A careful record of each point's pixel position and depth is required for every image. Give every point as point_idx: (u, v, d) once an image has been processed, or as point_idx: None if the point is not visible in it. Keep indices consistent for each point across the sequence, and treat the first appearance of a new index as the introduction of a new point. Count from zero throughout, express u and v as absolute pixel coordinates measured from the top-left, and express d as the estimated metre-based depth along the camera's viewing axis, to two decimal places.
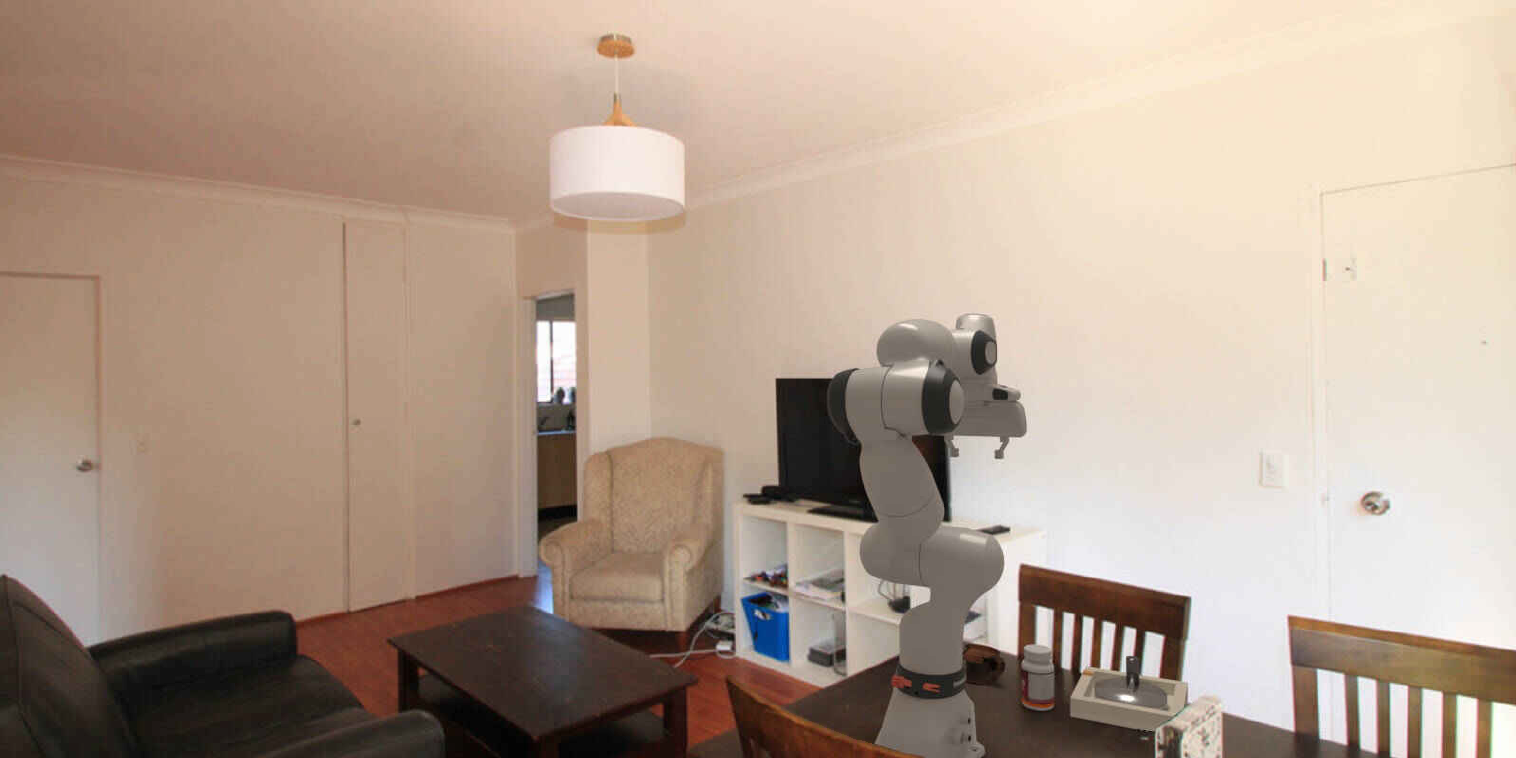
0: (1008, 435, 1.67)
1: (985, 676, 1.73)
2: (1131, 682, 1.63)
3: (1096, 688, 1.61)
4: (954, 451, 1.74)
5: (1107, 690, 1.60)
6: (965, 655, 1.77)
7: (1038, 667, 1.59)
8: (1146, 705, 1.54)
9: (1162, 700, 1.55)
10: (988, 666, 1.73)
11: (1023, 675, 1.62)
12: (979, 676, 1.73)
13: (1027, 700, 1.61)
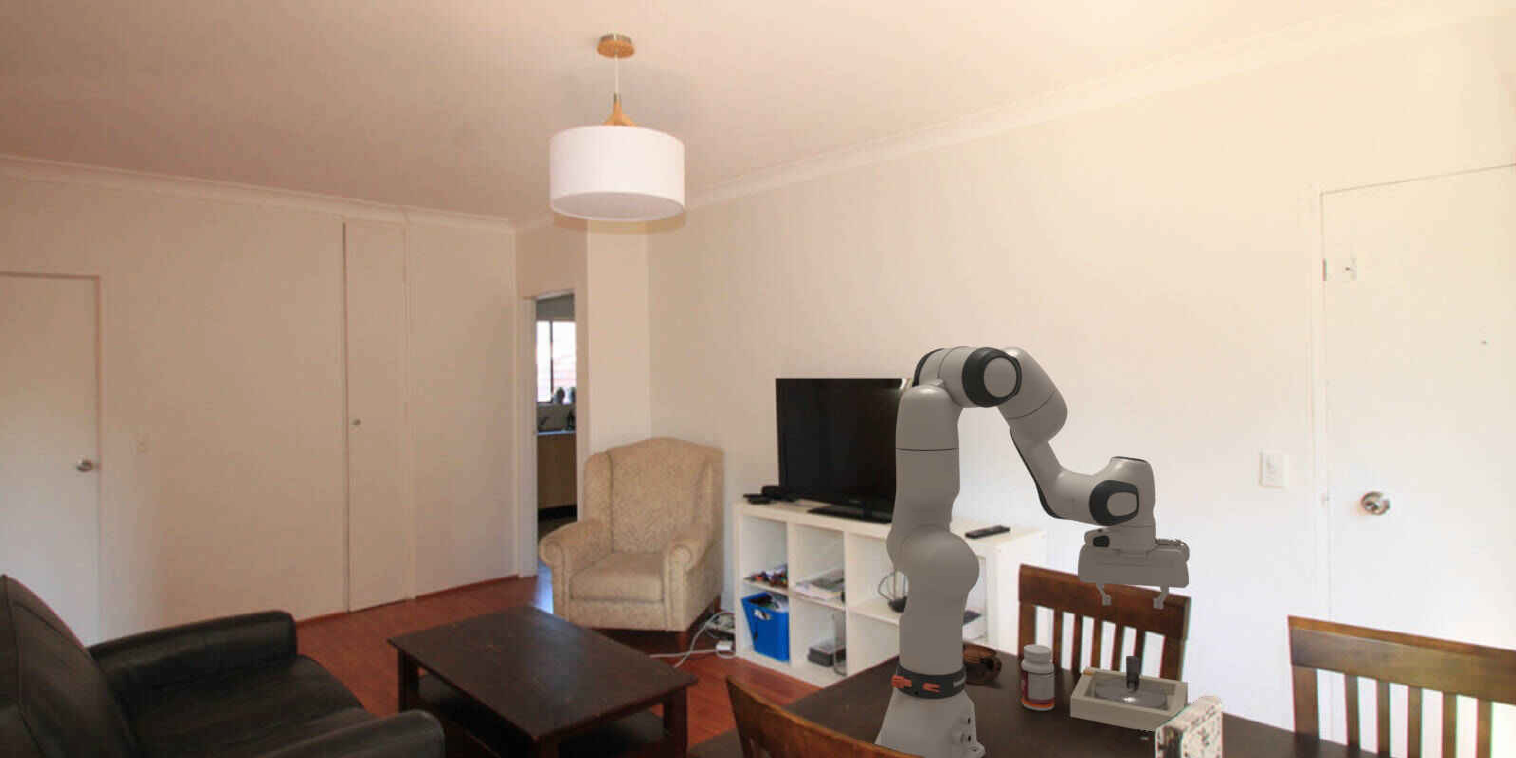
0: None
1: (982, 676, 1.73)
2: (1131, 682, 1.63)
3: (1096, 688, 1.61)
4: None
5: (1107, 690, 1.60)
6: None
7: (1038, 667, 1.59)
8: (1146, 705, 1.54)
9: (1162, 700, 1.55)
10: (985, 666, 1.73)
11: (1023, 675, 1.62)
12: (975, 676, 1.73)
13: (1027, 700, 1.61)
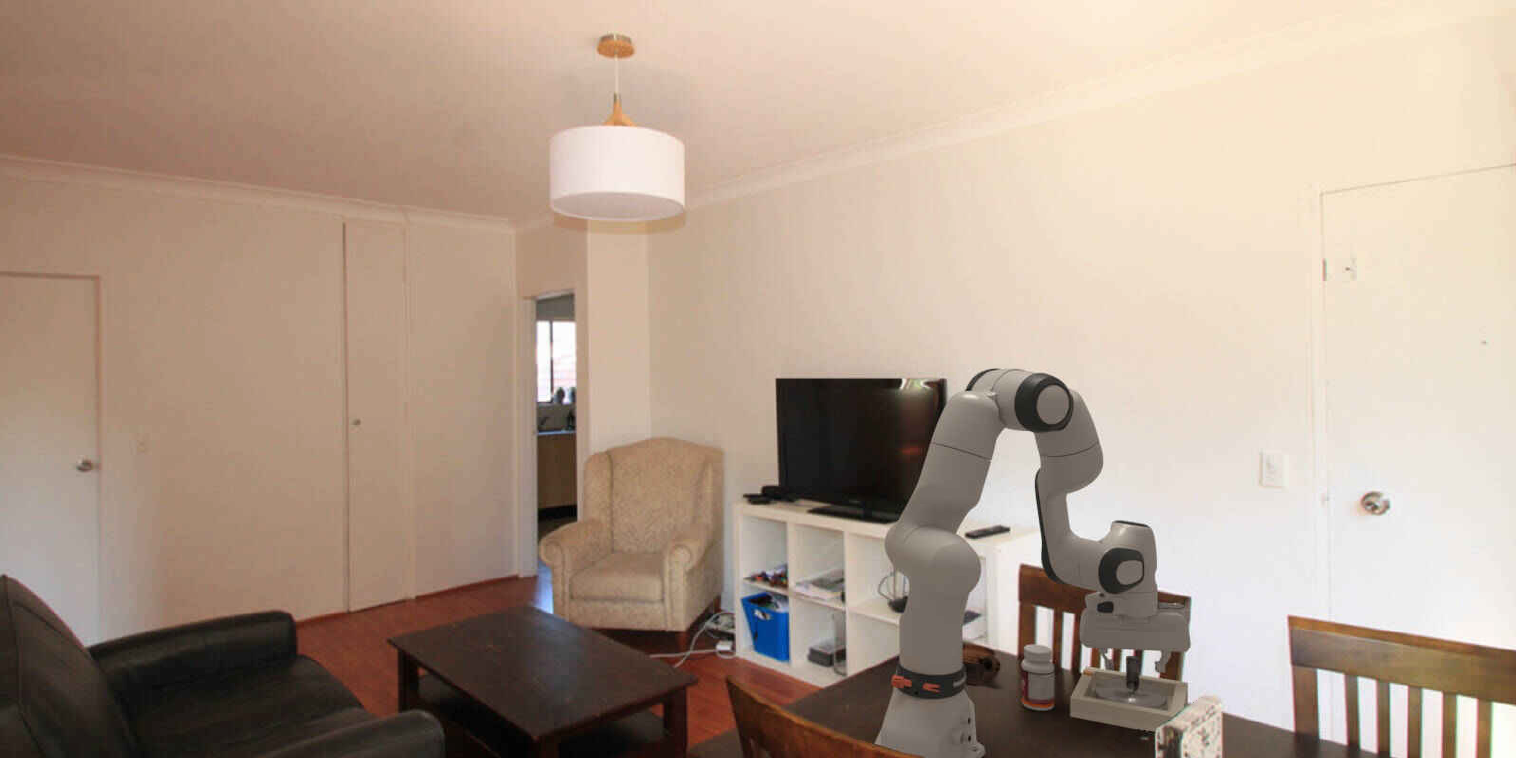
0: None
1: (980, 676, 1.73)
2: (1131, 682, 1.63)
3: (1096, 688, 1.61)
4: None
5: (1107, 690, 1.60)
6: None
7: (1038, 667, 1.59)
8: (1146, 705, 1.54)
9: (1162, 700, 1.55)
10: (983, 666, 1.73)
11: (1023, 675, 1.62)
12: (974, 676, 1.73)
13: (1027, 700, 1.61)
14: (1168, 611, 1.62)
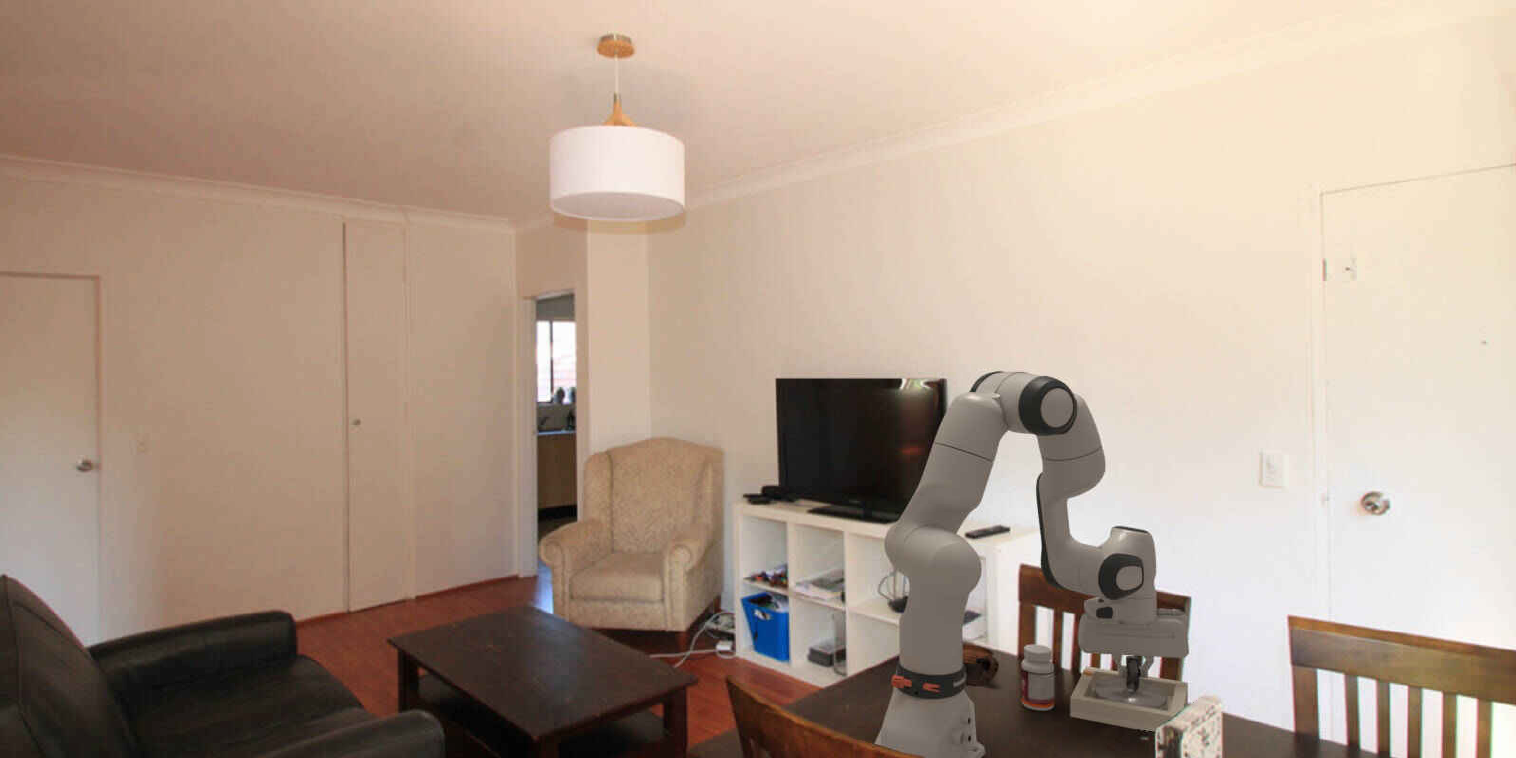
0: None
1: (978, 677, 1.73)
2: (1131, 682, 1.63)
3: (1096, 688, 1.61)
4: None
5: (1107, 690, 1.60)
6: None
7: (1038, 667, 1.59)
8: (1146, 705, 1.54)
9: (1162, 700, 1.55)
10: (981, 667, 1.73)
11: (1023, 675, 1.62)
12: (972, 676, 1.73)
13: (1027, 700, 1.61)
14: (1167, 617, 1.62)
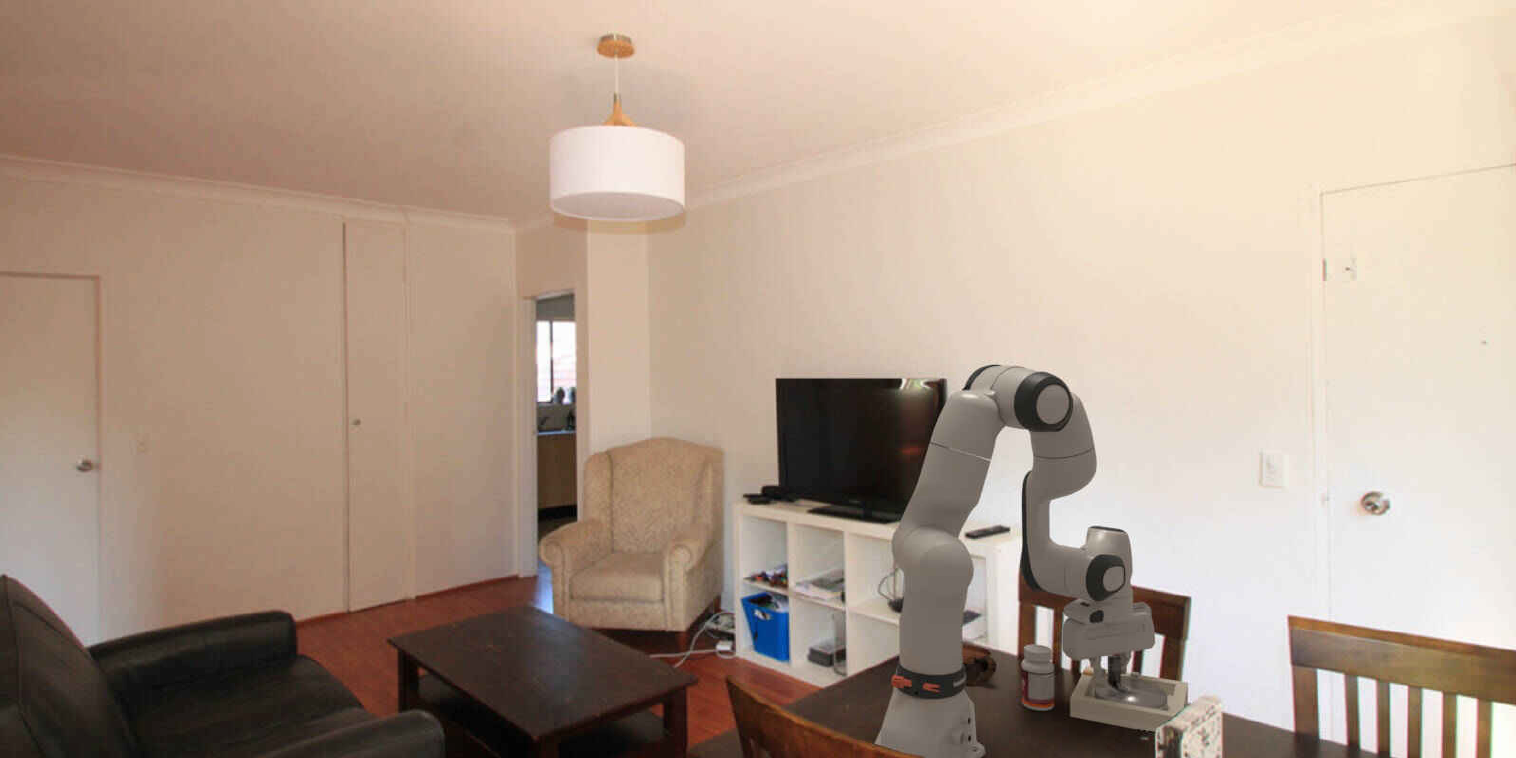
0: None
1: (976, 677, 1.73)
2: (1118, 682, 1.63)
3: (1111, 698, 1.57)
4: None
5: (1120, 697, 1.57)
6: None
7: (1038, 667, 1.59)
8: (1165, 700, 1.56)
9: (1163, 691, 1.60)
10: (979, 667, 1.73)
11: (1023, 675, 1.62)
12: (970, 676, 1.73)
13: (1027, 700, 1.61)
14: (1136, 611, 1.66)
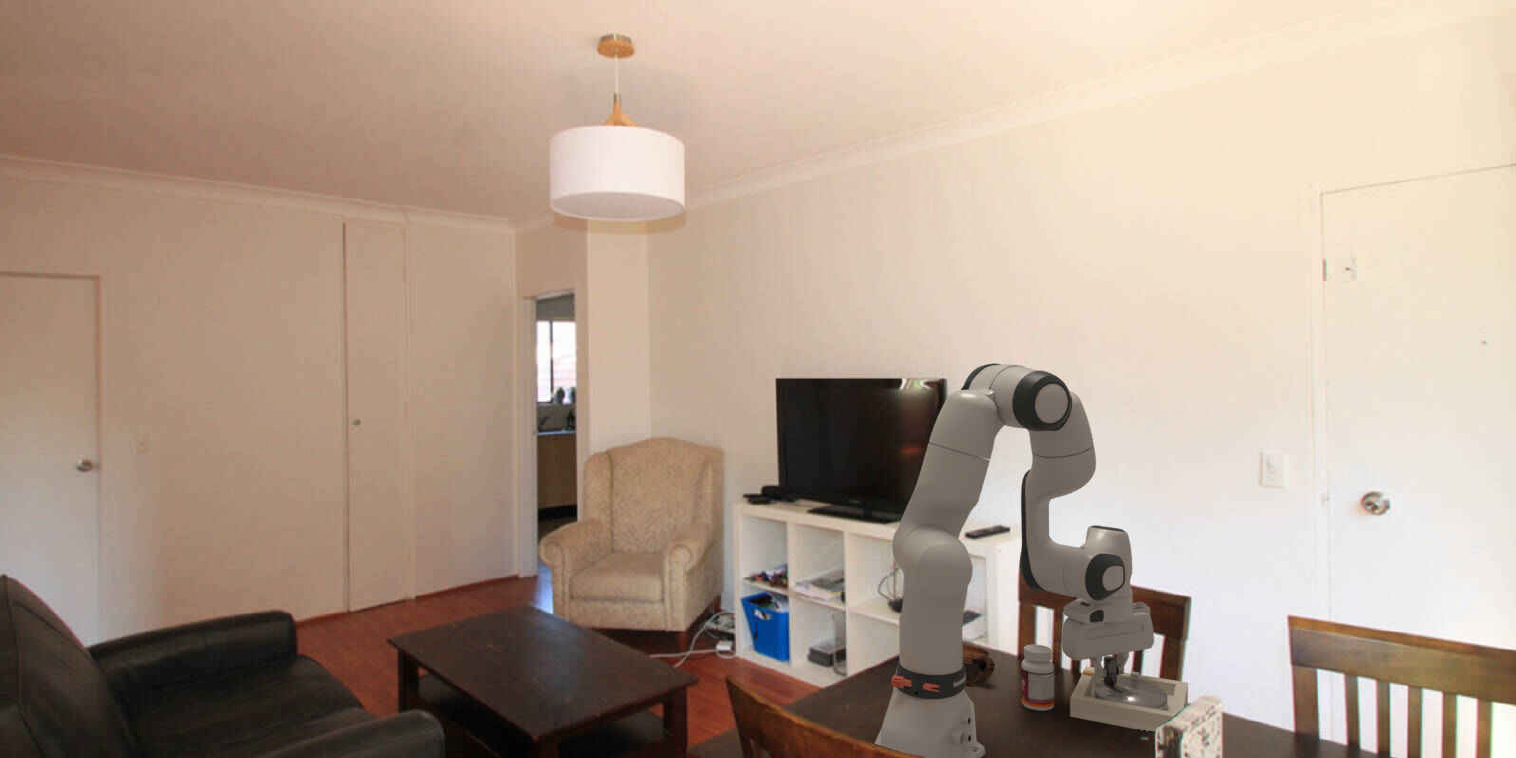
0: None
1: (974, 677, 1.72)
2: (1115, 682, 1.63)
3: (1119, 700, 1.56)
4: None
5: (1126, 698, 1.56)
6: None
7: (1038, 667, 1.59)
8: None
9: (1159, 688, 1.61)
10: (977, 667, 1.73)
11: (1023, 675, 1.62)
12: (968, 677, 1.73)
13: (1027, 700, 1.61)
14: (1135, 611, 1.66)
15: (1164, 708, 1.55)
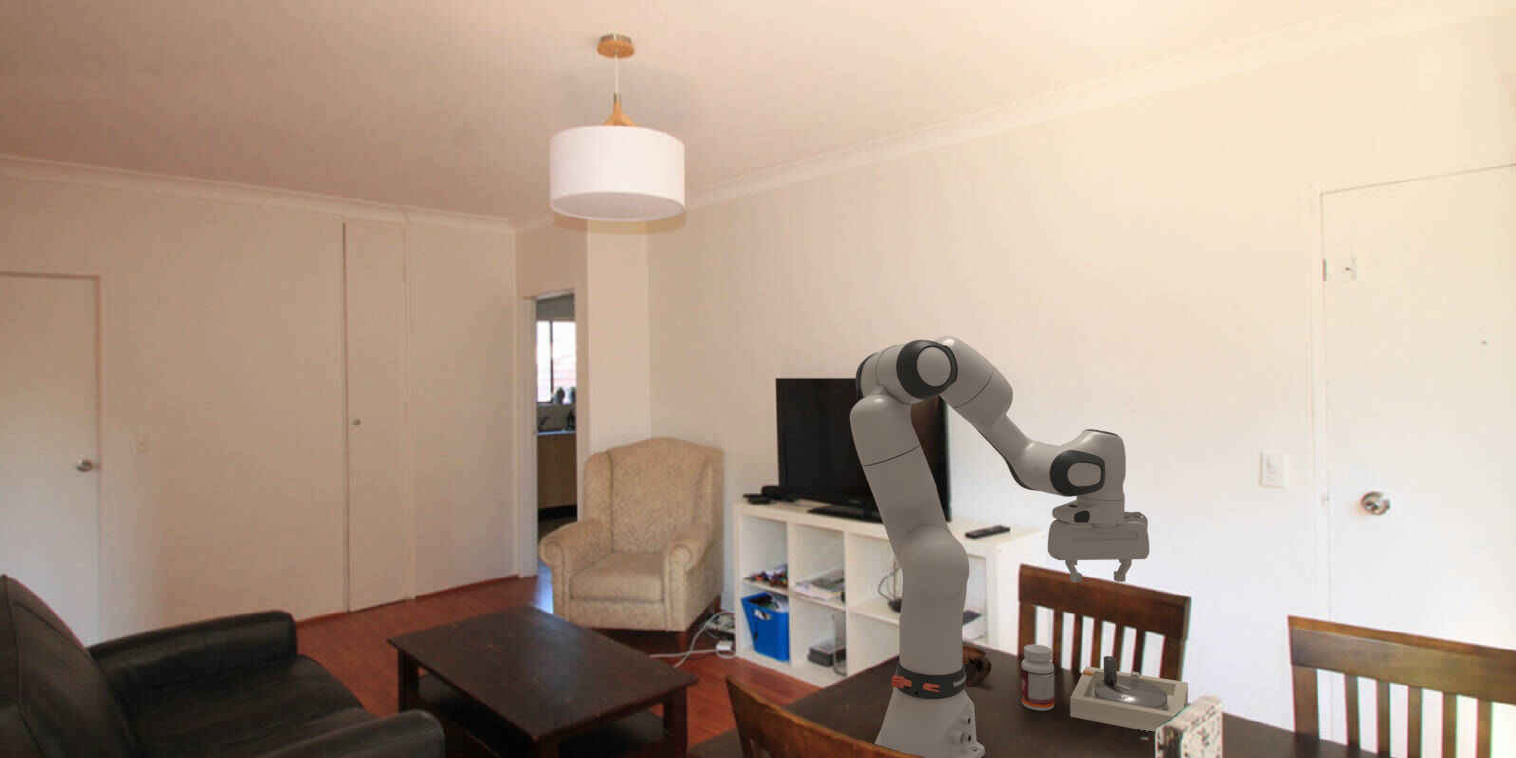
0: None
1: (971, 677, 1.72)
2: (1115, 682, 1.63)
3: (1119, 700, 1.56)
4: None
5: (1126, 698, 1.56)
6: None
7: (1038, 667, 1.59)
8: None
9: (1159, 688, 1.61)
10: (974, 667, 1.73)
11: (1023, 675, 1.62)
12: None
13: (1027, 700, 1.61)
14: (1130, 520, 1.63)
15: (1164, 708, 1.55)
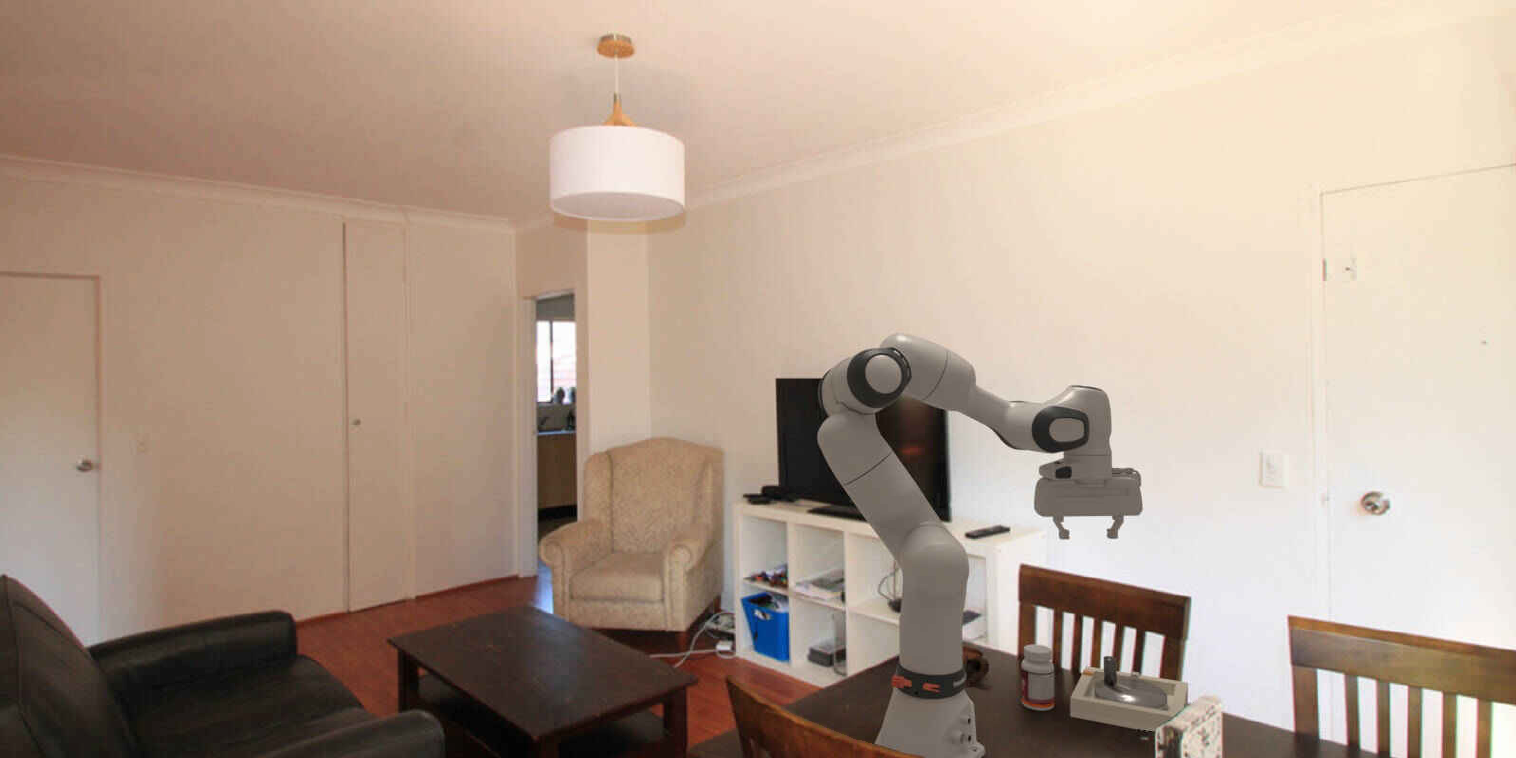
0: None
1: (969, 678, 1.72)
2: (1115, 682, 1.63)
3: (1119, 700, 1.56)
4: None
5: (1126, 698, 1.56)
6: None
7: (1038, 667, 1.59)
8: None
9: (1159, 688, 1.61)
10: (972, 667, 1.73)
11: (1023, 675, 1.62)
12: None
13: (1027, 700, 1.61)
14: (1121, 476, 1.60)
15: (1164, 708, 1.55)
